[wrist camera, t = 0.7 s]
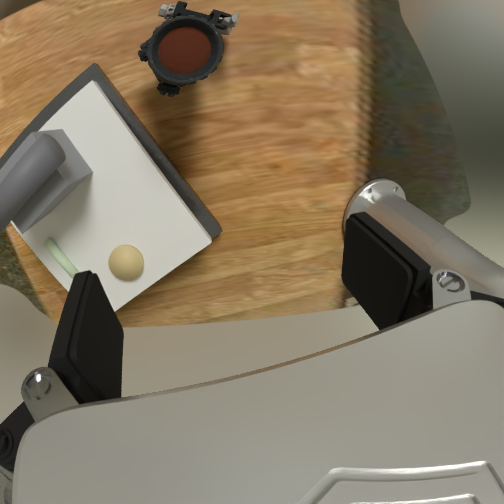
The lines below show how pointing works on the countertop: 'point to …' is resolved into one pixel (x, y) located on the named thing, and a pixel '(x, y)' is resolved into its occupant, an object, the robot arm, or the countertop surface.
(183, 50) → the scope
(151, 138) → the leveling base
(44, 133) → the leveling plate
